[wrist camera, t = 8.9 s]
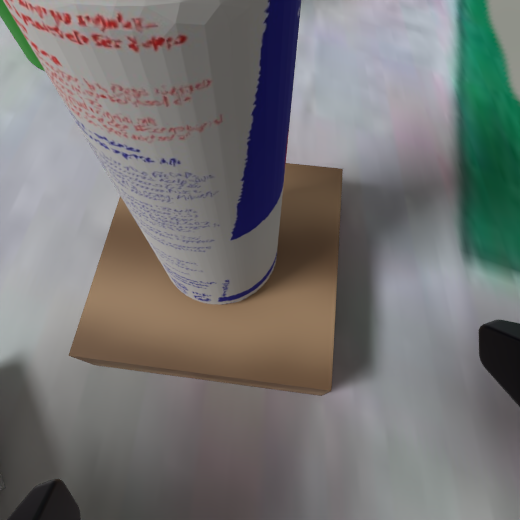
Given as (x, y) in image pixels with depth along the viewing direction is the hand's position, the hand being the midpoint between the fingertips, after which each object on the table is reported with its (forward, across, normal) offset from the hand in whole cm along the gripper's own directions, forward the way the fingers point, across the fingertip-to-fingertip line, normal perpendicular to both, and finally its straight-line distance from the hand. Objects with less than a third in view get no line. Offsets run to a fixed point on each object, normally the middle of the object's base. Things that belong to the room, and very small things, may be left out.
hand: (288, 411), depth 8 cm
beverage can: (+12, 0, +1) cm, 12 cm away
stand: (+15, 0, +3) cm, 15 cm away
